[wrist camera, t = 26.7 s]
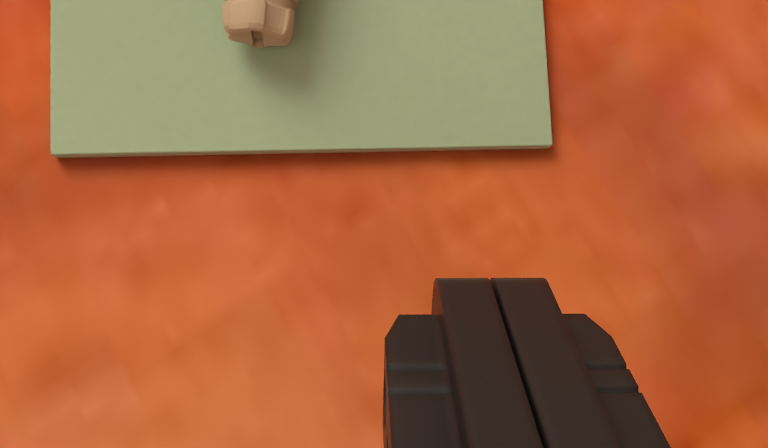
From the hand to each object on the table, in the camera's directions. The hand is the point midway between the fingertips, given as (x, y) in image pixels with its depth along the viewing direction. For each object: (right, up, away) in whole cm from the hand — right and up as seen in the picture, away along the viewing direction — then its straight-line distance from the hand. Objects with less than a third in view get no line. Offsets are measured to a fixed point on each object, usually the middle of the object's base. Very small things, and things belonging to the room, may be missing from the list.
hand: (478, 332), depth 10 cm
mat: (-5, +15, +26) cm, 30 cm away
